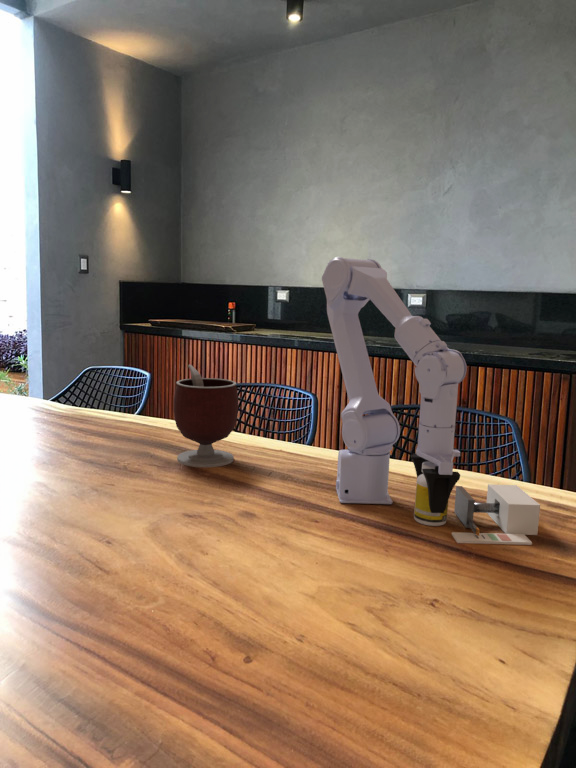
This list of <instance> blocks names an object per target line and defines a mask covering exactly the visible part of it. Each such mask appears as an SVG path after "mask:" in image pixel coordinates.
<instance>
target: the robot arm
mask: <svg viewBox="0 0 576 768" xmlns="http://www.w3.org/2000/svg"><path fill="white" fill-rule="evenodd" d="M322 273H323V274H322V275H321V281H322V285H323V290H324V294H325V298H326V314H327V318H328V322H329V325H330V330H331V334H332V338H333V341H334V347H335V350H336V354H337V357H338V358H337V359H338V363H339V365H340V370H341V374H342V378H343V382H344V385H345V390H346V393H347V394H346V395H347V397H348V398H347V399H348V403H347V405H346V406H345V407H344V409H343V410H342V411H341V413H340V416H341V421H342V428H341V436H342V440H343V442H344V444H345V446H346V447H347V449H340V450H339V451H338V456H337V467H336V469H337V471H336V480H335V490H336V494H337V497H338V500H339V503H341V504H369V505H370V504H373V505H392V504H393V499H392V497H391V496H390V494H389V492H388V491H389V490H388V489H389V475H390V474H389V472H390V457H391V456H390V455H391V451H392V450H393V448H394V447H393V446H394V444H396V443H397V441H398V440H399V438H400V434H401V426H400V423H399V420H398V418H397V417H396V415H394V413H393V411H392V407H391V404H390V403H389V402H388V401H387V400H386V399H384V398H383V397H382V396H381V395H380V394H379V392H378V388H377V383H376V381H375V380H376V379H375V377H374V373H373V369H372V365H371V362H370V357H369V352H368V348H367V346H366V345H367V344H366V341H365V338H364V333H363V330H362V326H361V322H360V318H359V313H360V311H361V309H362V308H364V307H365V306H366V305H367V303H368V302H369V301H371V302H372V303H373V305H374V306H375V307H376V308H377V309H378V310H379V311H380V313H381V314H382V315H383V316H384V317H385V318H386V320H387V321H388V322H390V324H391V325H392V326H393V327H394V328H395V329H394V339H395V340H396V342H397V343H398V345H399V346H400V347H401V348H402V350H403V351H404V353H406V355H407V356H408V358H409V359H410V360H411V362H412V363H413V364H414V366H415V367H414V375H415V379H416V380H417V382H418V384H419V391H418V393H420V407H419V420H418V421H419V423H418V435H417V447H416V450H415V453H411V454H410V458H411V460H412V463H413V466H414V471H415V474H416V479H417V478H418V476H419V475H421V474H424V476H425V479H426V482H427V487H428V495H429V507H430V511H431V513H444V511H445V509H446V506H447V503H448V504H449V499H450V496H451V494H452V491H453V489H454V487H456V486H455V485H456V484H457V483H458V481H459V480H460V478H461V473H460V472H458V471H453V470H454V462H453V460H454V458H455V457H456V458H457V457H461V451H460V450H458V449H454V444H455V443H454V442H455V430H456V420H457V419H456V418H457V406H458V392H459V384H460V383H461V382H463V380H464V379H465V377H466V375H467V363H466V360H465V358H464V356H463V354H462V352H460V351H458V350H456V349H451V348H449V347H448V345H447V343H446V342H445V341H444V340H441V338H440V337H439V336H438V334H436V332H435V330H433V328H432V327H431V324H432V323H431V321H430V320H429V319H428V318H423V317H422V316H421V315H412V313H411V312H410V310H409V309H408V307H407V306H406V305H405V303H404V302H403V300H402V299H401V298H400V296H399V295H398V293H397V292H396V291H395V289H394V287H393V286H392V284H391V282H390V281H389V280H388V279H387V278H388V277H387V276H388V272H387V271H386V270H385V269H383V267H382V266H381V265H380V263H379V261H377V260H376V259H369V258H367V259H361V258H360V259H358V258H347V257H342V256H336V257H333V258H331V259H330V260H329V261H328V263H327V265H326V267H325V269H324V271H323V272H322ZM427 461H430V462H432V463H434V464H435V465H436V466H435V469H422V463H423V462H427Z"/></svg>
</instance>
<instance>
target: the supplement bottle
mask: <svg viewBox="0 0 576 768" xmlns="http://www.w3.org/2000/svg"><path fill="white" fill-rule="evenodd" d="M435 466H436V465H435V464H434V463H432V462H430V461H427V462H423V463H422V469H435ZM448 508H449V502H448V503H447V506H446V509H445V511H444V513H431V511H430V507H429V495H428V487H427V482H426V479H425V476H424V474H421V475H419V476H418V478H417V477H416V487H415V498H414V511H413V518H414V520H415V522H417V523H418V524H421V525H424V526H429V527H430V526H431V527H439V526H444V525H445V524H446V522H447V519H448V510H449V509H448Z"/></svg>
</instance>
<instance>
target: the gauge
mask: <svg viewBox="0 0 576 768" xmlns="http://www.w3.org/2000/svg"><path fill="white" fill-rule="evenodd" d="M486 493H487V494H486V502H485V503H500V508H499V513H486V514H487V515H488V516H489V517H490V518H491V520H492V521H494V522H495V524H496V525H497V526H498V527H499V528H500V529H501V530H502V532H503V533H495V532H494V533H493V532H492V533H490V532H489V533H488V532H479V536H477V535H476V534H475V533H474V532H460V531H459V532H456V531H452V532H451V536H452V538H453V539H454V541H455V542H456V543H457V544H478V545H479V544H480V545H481V544H483V545H485V544H487V545H517V546H518V545H520V546H521V545H522V546H523V545H524V546H525V545H527V546H532V545H533V542H532V541H531V540H530V539H529V537H527V536H528V535H529V536H538V531H539V530H538V529H539V522H540V521H539V520H540V513H541V512H540V511H541V504H540V503H539V502H538V501H536V500H535V499H534V498H532V496H530V495H529V494H528V493H527V492H526V491H524V490H523V489H522V488H521V487H519V486H518V485H517V484H487V491H486Z"/></svg>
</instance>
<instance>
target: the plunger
mask: <svg viewBox="0 0 576 768" xmlns="http://www.w3.org/2000/svg"><path fill="white" fill-rule="evenodd" d="M454 498H455V499H454V510H453V511H454V512H453V513H454V514H455V516H457V518H458V519H459V521H460V522H461V523H462V524H463V525H464V527H465V529H467V528H468V529H471V531H472V533H475V534H476V535H477V536H479V533H480V531H481V530H480V528H479V527H478V526H477V525H476V524H475V522H474V513H477V514H478V513H484V514H487V513H499V508H500V503H486V502H476V501H475V500H476V499H474V498H473V497H472V495H470V493H468V491H467V490H466V489H465V488H464V487H463V486H462V485H460V486H459V485H458V486H457V485H456V486H455V497H454Z"/></svg>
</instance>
